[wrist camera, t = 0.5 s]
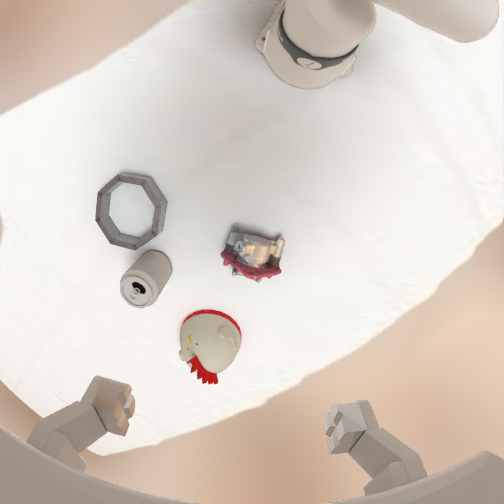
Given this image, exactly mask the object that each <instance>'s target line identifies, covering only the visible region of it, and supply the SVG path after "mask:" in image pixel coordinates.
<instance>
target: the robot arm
mask: <svg viewBox="0 0 504 504" xmlns="http://www.w3.org/2000/svg"><path fill="white" fill-rule="evenodd" d="M372 1H373V2H375V3H377V4H379V5H381V6H384V7H386V8H388V9H390V10H392V11H394V12H396V13H398V14H400V15H401V16H403V17H405V18H407V19H409V20H411V21H412V22H414V23H416V24H418V25H420V26H423V27H425V28H427V29H430V30H432V31H434V32H436V33H439V34H441V35H443V36H445V37H448V38H450V39H452V40H454V41H456V42H460V43H469V42H474V41H477V40H480V39H482V38H484V37H485V36H487V35H488V34H489V33H490V32H491V31H492V30H493V28H494V27H495V25H496V23H497V20H498V17H499V2H498V0H282V1H281V2H280V4H277V5H276V6H275V8H274V10H273V14H272V16H271V17H270V19H269V20H268V22H267V24H266V25H265V27H264V28H263V30H262V31H261V33H260V35H259V36H258V38H257V40H256V42H255V47H256V48H257V50H258V51H260V52H261V53H262V54H263V55H264V56H265V58H266V60H267V62H268V65H269V67H270V68H271V70H272V71H273V72H274V74H275V75H276V76H277V77H278V78H280V79H281V80H282V81H284V82H286V83H288V84H290V85H292V86H295V87H298V88H304V89H315V88H320V87H323V86H326V85H328V84H329V83H331V82H332V81H334V80H335V79H337V78H339V77H345V76H348V75H350V74H351V73H352V71H353V62H354V60H355V57H354V52H355V50H356V49H357V47H358V45H359V43H360V42H361V41H362V40H363V39H364V38H366V37H367V36H368V35H369V34H370V33H371V32H372V30H373V28H374V26H375V23H376V10H375V7H374V4H373V2H372ZM263 38H265V41H263V40H262V39H263ZM131 390H132V389H131V387H130V385H129V384H125V383H121V382H118V381H114V380H111V379H108V378H104V377H101V376H95V377H94V378H93V380H92V382H91V383H90V385H89V387H88V389H87V390H86V392H85V394H84V396H83V397H82V399H81V401H80V402H79V401H76V402H74V403H72V404H71V405H69V406H67V407H65V408H63V409H61V410H59V411H57V412H55V413H53V414H51V415H49V416H47V417H45V418H43V419H41V420H39V421H38V422H37V423H36V425H35V427H34V429H33V430H32V432H31V434H30V436H29V438H28V439H27V441H26V442H25V441H23V440H22V439H20V438H18V437H17V436H15V435H14V434H12V433H11V432H9V431H8V430H6V429H5V428H4V427H2V426H1V425H0V504H202V503H194V502H188V501H182V500H176V499H171V498H166V497H161V496H157V495H153V494H149V493H145V492H141V491H137V490H134V489H131V488H127V487H124V486H121V485H118V484H114V483H112V482H109V481H106V480H103V479H101V478H98V477H95V476H93V475H90V474H88V473H85V472H84V471H85V468H86V465H87V464H86V462H85V460H84V459H83V458H82V457H81V456H80V455H79V453H80V452H81V451H83V450H84V449H86V448H87V447H88V446H90V445H91V444H92V443H94V442H95V441H96V440H98V439H99V438H100V437H102V436H103V435H104V434H106V433H107V432H111V433H114V434H118V435H121V436H125V435H126V432H127V430H128V427H129V423H128V419H129V418H131V417H132V416H133V413H134V409H135V400H134V397H133V396H132V395H131V394H130V393H131ZM324 428H325V433H326V435H328V436H329V437H330V438H329V440H328V441H327V443H328V447H329V453H330V454H338V453H348V452H349V455H350V456H351V457H352V458H353V459H354V460H355V461H356V462H357V463H358V464H359V465H360V466H361V467H362V468H363V469H364V470H365V471H366V472H367V473H368V474H369V475H370V476H371V477H372V478H373V480H371V481H370V482H369V483H368V484H367V485H366V486H365V487H364V491H365V496H362V497H358V498H353V499H348V500H342V501H336V502H330V503H323V504H504V459H502V458H500V457H499V456H497V455H495V454H493V453H491V452H489V451H481V452H479V453H477V454H475V455H473V456H471V457H470V458H468V459H466V460H464V461H462V462H460V463H458V464H456V465H454V466H452V467H449V468H447V469H445V470H442V471H440V472H438V473H435V474H433V475H430V476H427V474H426V471H425V468H424V466H423V463H422V461H421V458H420V456H419V454H417V453H416V452H415V451H413V450H412V449H411V448H409V447H408V446H406V445H405V444H404V443H402V442H401V441H399V440H398V439H397V438H395V437H394V436H393V435H391V434H390V433H389V432H387V431H386V430H385V429H383V428H379V425H378V423H377V420H376V417H375V415H374V412H373V410H372V407H371V405H370V402H369V401H368V400H360V401H347V402H335V403H333V404H332V405H331V412H329V413H328V414H327V415H326V418H325V423H324Z"/></svg>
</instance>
